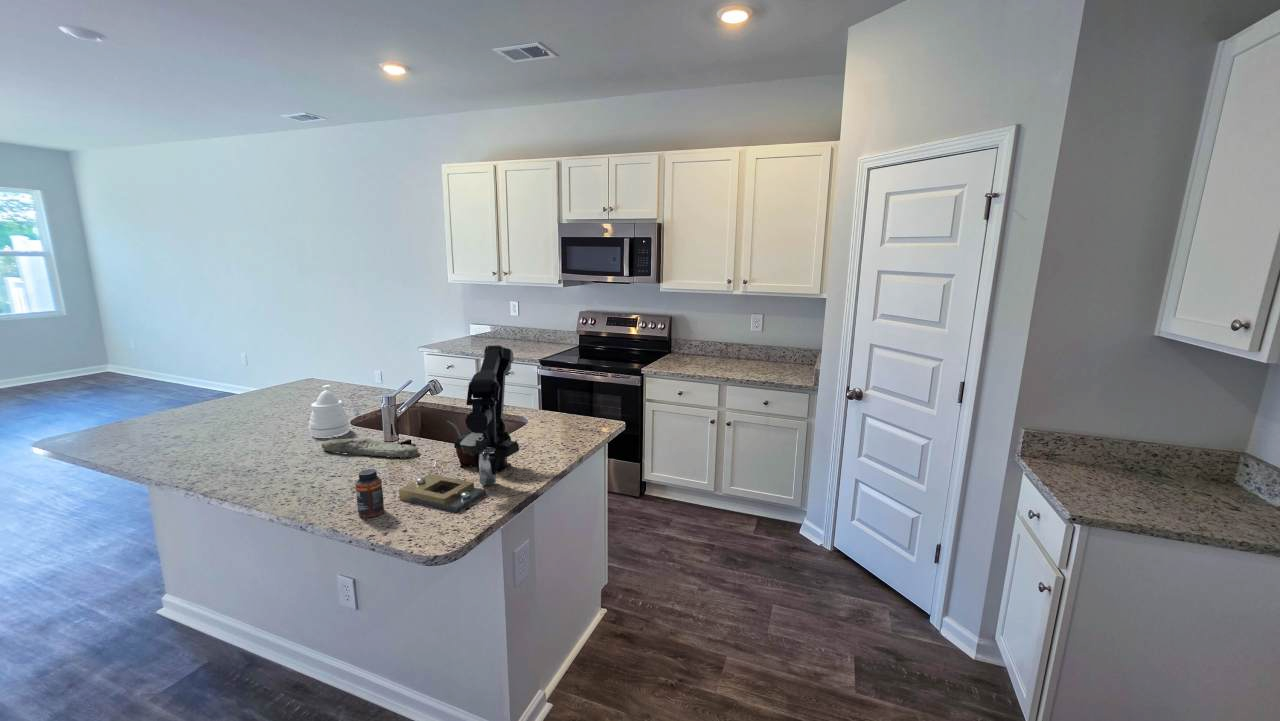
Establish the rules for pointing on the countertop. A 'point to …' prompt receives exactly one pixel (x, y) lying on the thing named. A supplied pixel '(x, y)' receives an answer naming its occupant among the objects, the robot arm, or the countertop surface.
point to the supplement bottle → (369, 494)
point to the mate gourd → (463, 458)
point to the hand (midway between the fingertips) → (487, 473)
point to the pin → (486, 467)
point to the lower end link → (456, 503)
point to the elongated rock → (369, 448)
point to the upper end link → (431, 482)
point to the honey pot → (328, 415)
